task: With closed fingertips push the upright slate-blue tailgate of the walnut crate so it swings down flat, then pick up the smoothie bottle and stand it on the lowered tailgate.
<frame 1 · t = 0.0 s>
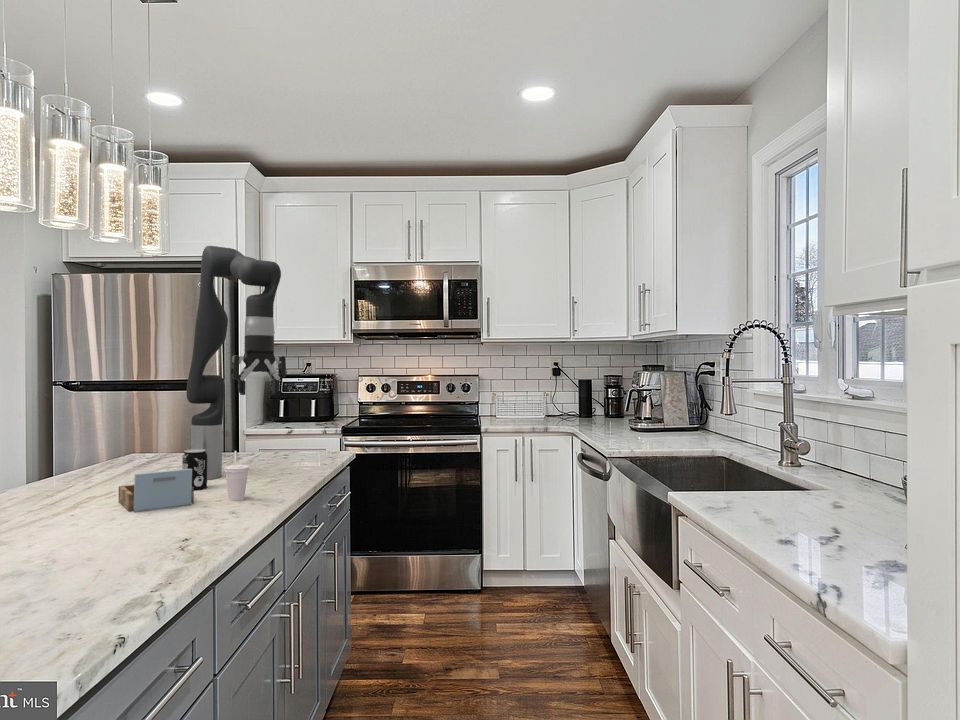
hand: (258, 394, 168), 29 cm above the countertop, fingers open, 8 cm apart
tailgate: (163, 491, 157), point 5 cm above the countertop, hinge at 3.0°
beverage can: (194, 492, 181), on the countertop
smoothie: (236, 503, 168), on the countertop
crate: (155, 506, 163), on the countertop
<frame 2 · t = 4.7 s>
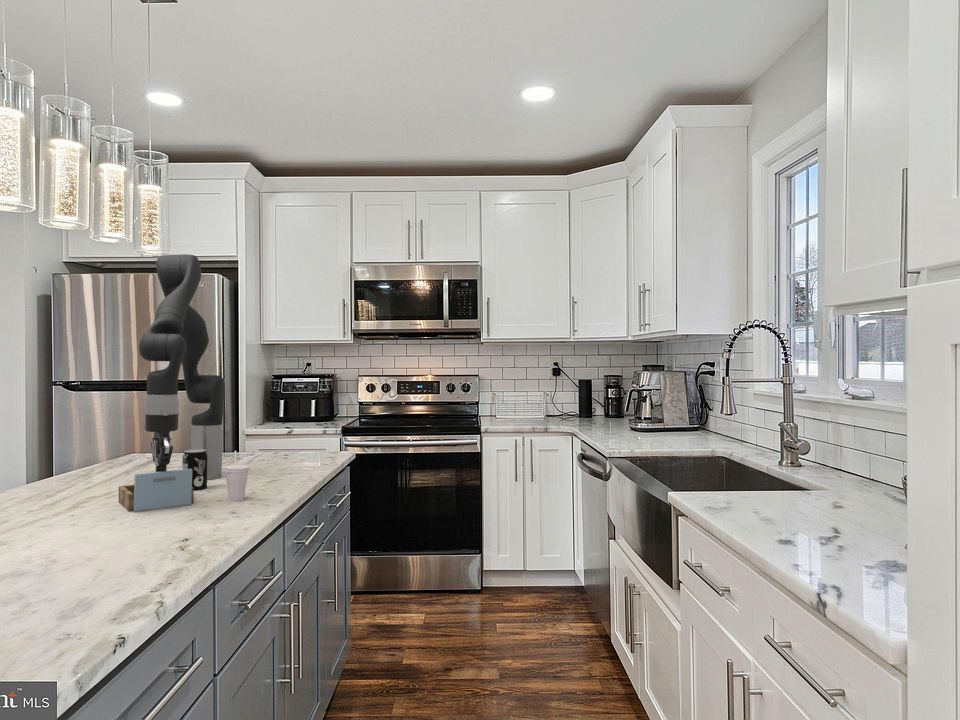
hand: (160, 480, 159), 8 cm above the countertop, fingers closed
tailgate: (163, 491, 157), point 5 cm above the countertop, hinge at 4.2°, touching gripper
everything else where it was.
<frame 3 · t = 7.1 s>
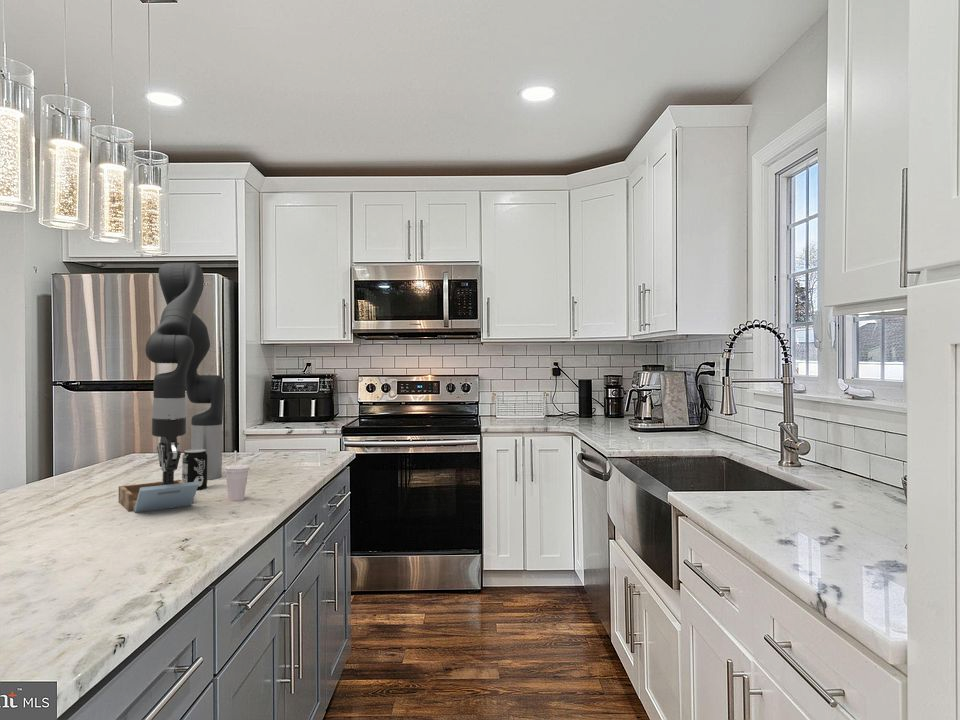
hand: (168, 486, 153), 7 cm above the countertop, fingers closed
tailgate: (166, 498, 155), point 4 cm above the countertop, hinge at 44.7°, touching gripper
everything else where it was.
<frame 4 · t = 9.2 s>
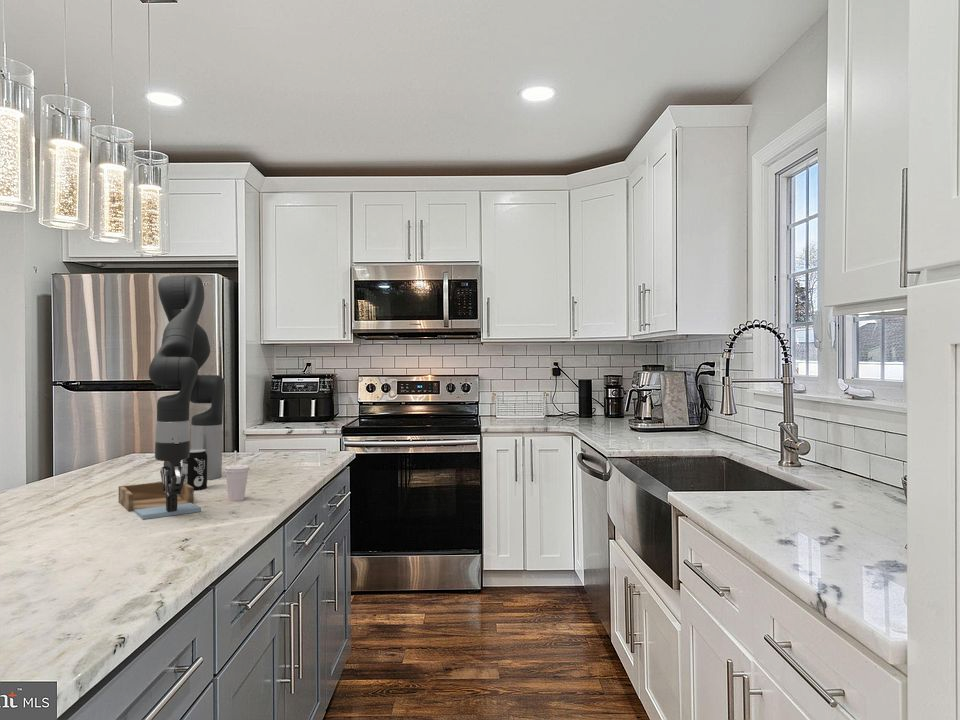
hand: (171, 511, 150), 2 cm above the countertop, fingers closed
tailgate: (167, 510, 154), point 1 cm above the countertop, hinge at 86.7°, touching gripper
everything else where it was.
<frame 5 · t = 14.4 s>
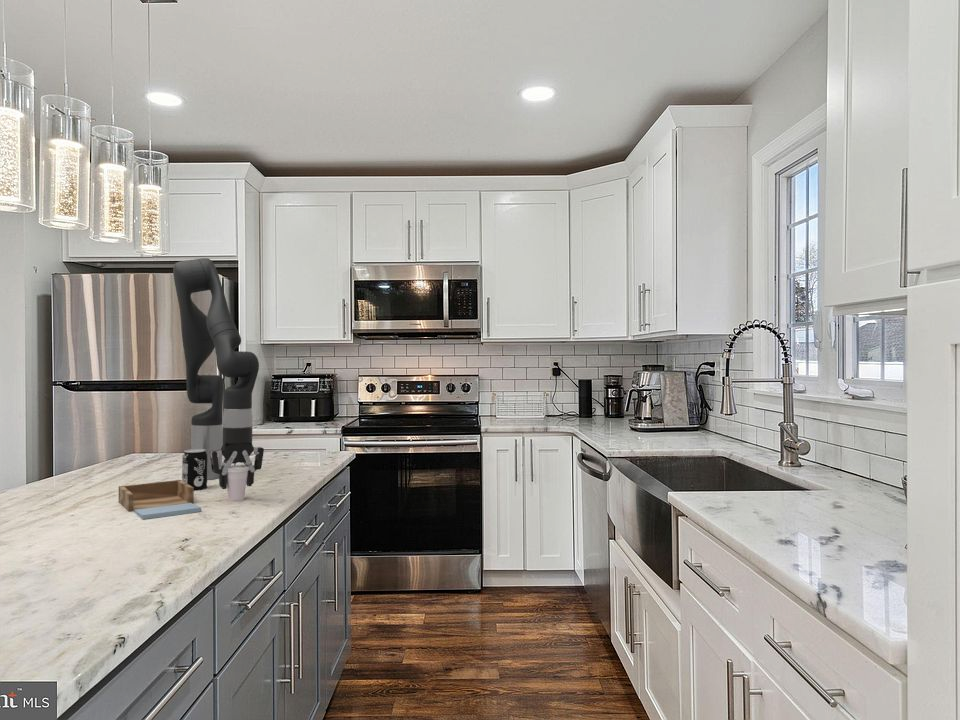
hand: (236, 487, 168), 4 cm above the countertop, fingers closed on smoothie, 6 cm apart
tailgate: (167, 510, 154), point 1 cm above the countertop, hinge at 86.8°
smoothie: (236, 503, 168), on the countertop, touching gripper
everything else where it was.
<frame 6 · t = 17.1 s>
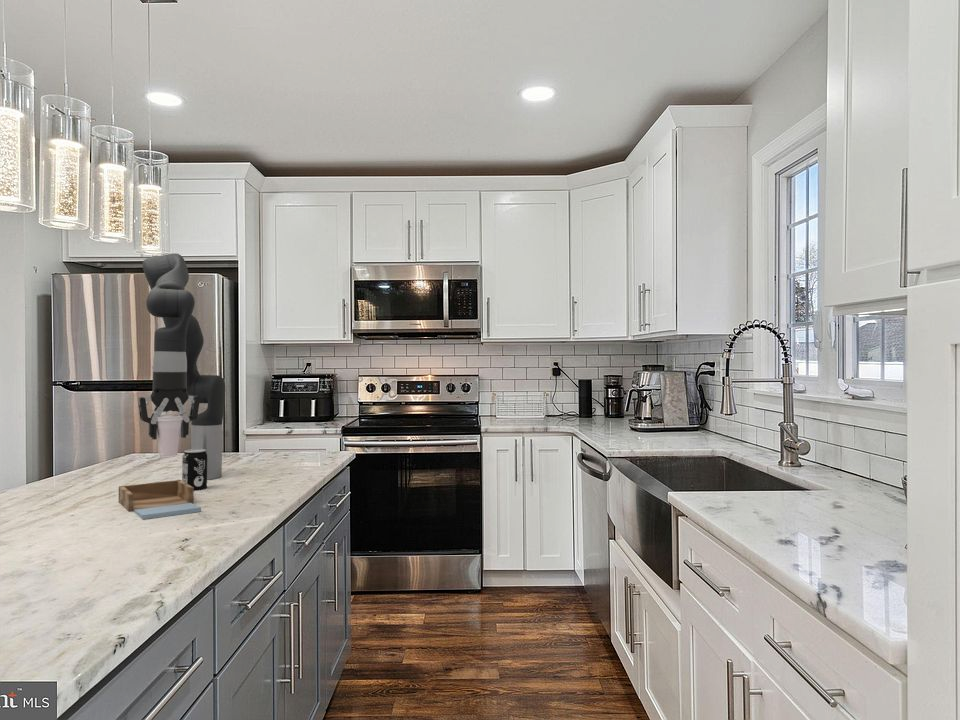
hand: (169, 438, 154), 19 cm above the countertop, fingers closed on smoothie, 6 cm apart
smoothie: (168, 455, 154), point 15 cm above the countertop, touching gripper
everything else where it was.
when the fingers open (7 cm above the countertop, at t = 19.8 s): smoothie drops 1 cm, resting on tailgate.
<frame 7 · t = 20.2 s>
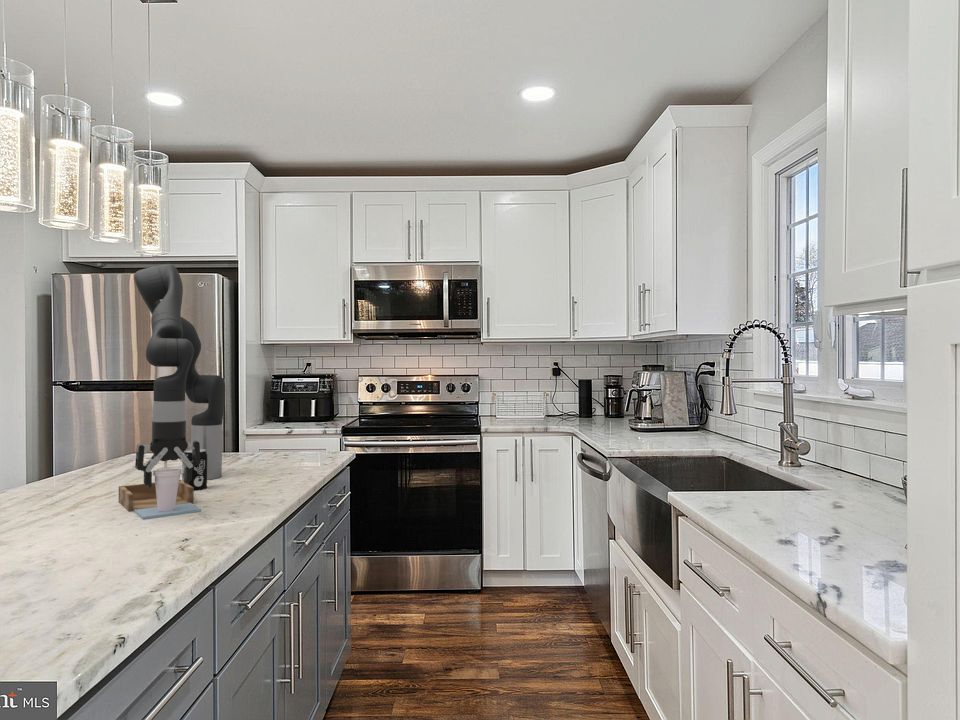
hand: (168, 485, 154), 8 cm above the countertop, fingers open, 8 cm apart
tailgate: (167, 511, 154), point 1 cm above the countertop, hinge at 89.5°, touching smoothie
smoothie: (166, 510, 153), point 1 cm above the countertop, touching tailgate
everything else where it was.
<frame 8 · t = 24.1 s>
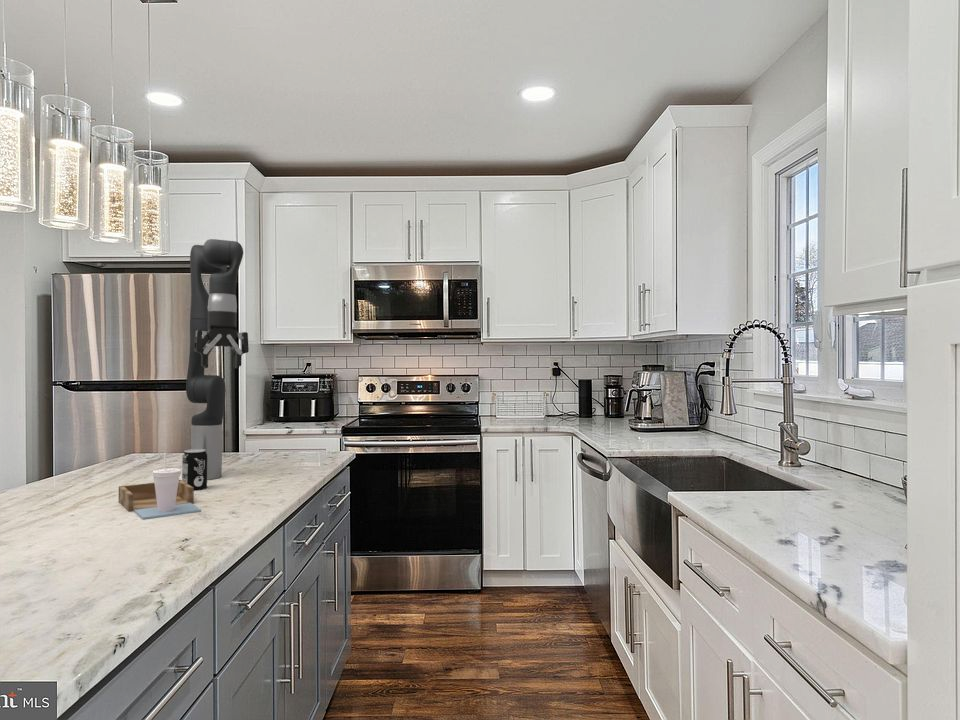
hand: (221, 368, 176), 36 cm above the countertop, fingers open, 8 cm apart
tailgate: (167, 511, 154), point 1 cm above the countertop, hinge at 90.1°, touching smoothie
everything else where it was.
at the end: tailgate at +90° (first picture: +3°); smoothie inside the target area (0.5 cm from its centre), point 1.2 cm above the countertop; smoothie tilted 0° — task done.
